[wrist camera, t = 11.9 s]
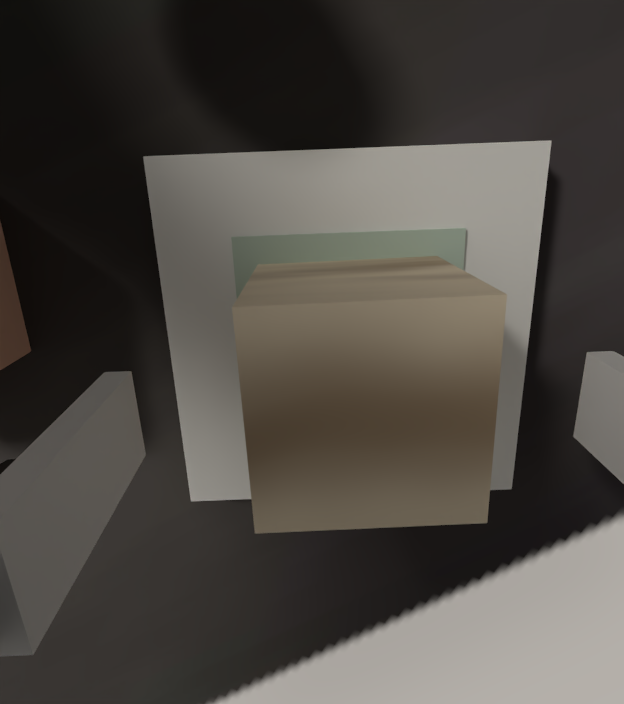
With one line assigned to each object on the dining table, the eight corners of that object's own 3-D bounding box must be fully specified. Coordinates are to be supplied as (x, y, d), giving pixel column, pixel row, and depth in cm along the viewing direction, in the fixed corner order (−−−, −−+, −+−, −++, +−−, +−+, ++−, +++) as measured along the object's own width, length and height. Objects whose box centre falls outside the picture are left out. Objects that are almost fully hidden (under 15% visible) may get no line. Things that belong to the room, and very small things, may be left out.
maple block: (257, 264, 19) (231, 307, 12) (436, 256, 19) (507, 294, 12) (270, 424, 21) (254, 533, 15) (430, 417, 21) (487, 522, 15)
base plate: (158, 159, 20) (141, 156, 18) (527, 144, 20) (554, 140, 18) (199, 476, 25) (190, 503, 23) (495, 465, 25) (513, 491, 23)
